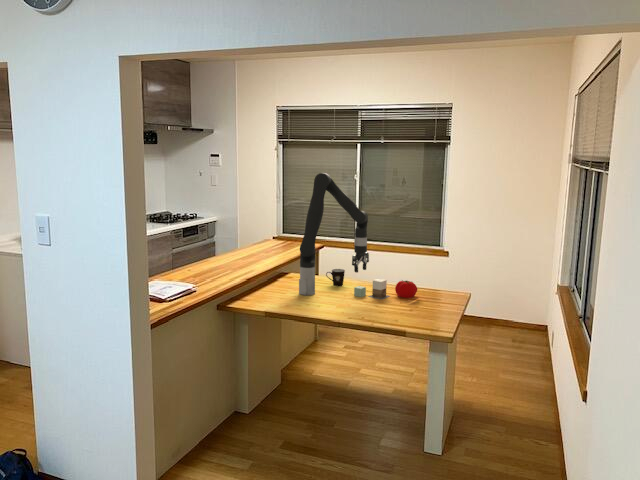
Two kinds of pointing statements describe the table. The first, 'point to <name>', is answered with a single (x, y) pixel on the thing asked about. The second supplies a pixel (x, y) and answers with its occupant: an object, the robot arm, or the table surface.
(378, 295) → the walnut block
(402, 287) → the tomato
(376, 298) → the slate coaster
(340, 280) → the coffee mug
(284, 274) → the table surface
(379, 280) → the cream block
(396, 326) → the table surface
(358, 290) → the sage block
